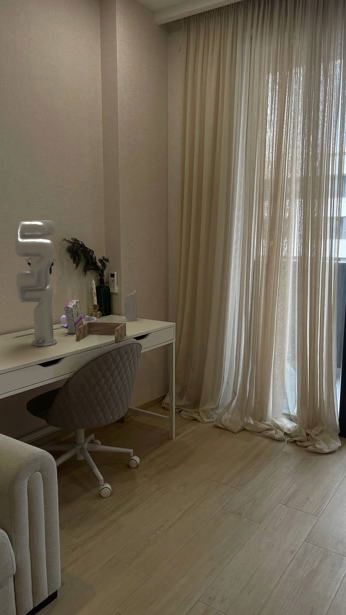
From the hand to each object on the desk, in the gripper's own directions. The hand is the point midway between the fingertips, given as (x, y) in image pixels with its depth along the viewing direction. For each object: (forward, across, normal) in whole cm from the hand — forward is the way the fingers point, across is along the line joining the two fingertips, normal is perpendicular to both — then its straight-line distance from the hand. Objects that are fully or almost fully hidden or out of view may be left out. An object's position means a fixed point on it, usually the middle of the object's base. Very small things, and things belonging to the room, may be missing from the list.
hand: (41, 274), depth 255 cm
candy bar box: (+33, -16, -7) cm, 37 cm away
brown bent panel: (+34, -36, +6) cm, 50 cm away
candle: (+34, -36, -47) cm, 69 cm away
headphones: (+34, -13, -24) cm, 44 cm away
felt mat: (+34, -16, -7) cm, 38 cm away
